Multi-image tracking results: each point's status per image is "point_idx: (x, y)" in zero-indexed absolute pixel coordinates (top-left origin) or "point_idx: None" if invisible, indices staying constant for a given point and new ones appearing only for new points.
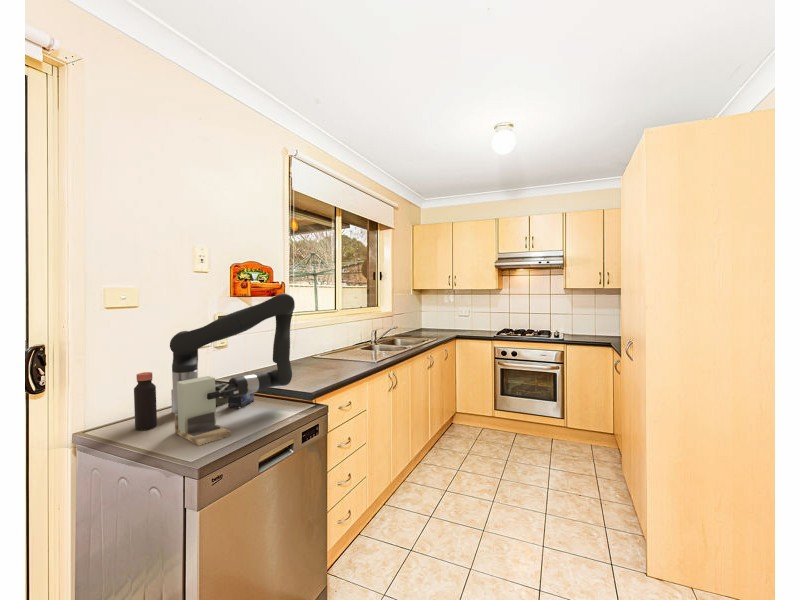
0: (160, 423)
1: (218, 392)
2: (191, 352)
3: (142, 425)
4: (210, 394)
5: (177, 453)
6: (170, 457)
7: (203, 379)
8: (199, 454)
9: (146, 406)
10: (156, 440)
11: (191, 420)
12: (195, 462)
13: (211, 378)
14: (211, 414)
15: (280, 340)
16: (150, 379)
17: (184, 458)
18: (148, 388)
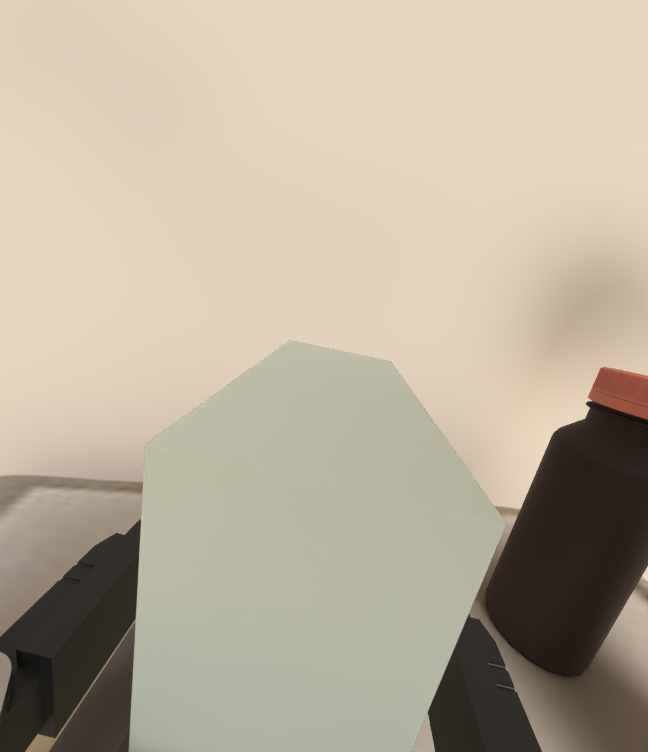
0: (582, 710)
1: (15, 678)
2: None
3: (492, 575)
4: (123, 543)
5: (138, 510)
6: (142, 489)
7: (277, 385)
8: (25, 526)
9: (523, 515)
10: None
11: None
12: (12, 487)
13: (202, 417)
14: (123, 746)
15: None
16: (620, 410)
17: (80, 494)
18: (566, 441)
